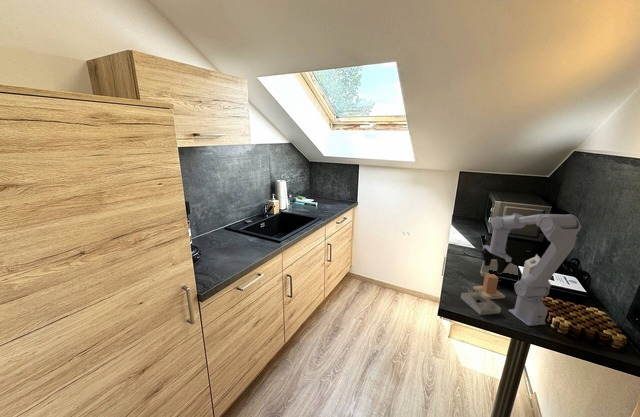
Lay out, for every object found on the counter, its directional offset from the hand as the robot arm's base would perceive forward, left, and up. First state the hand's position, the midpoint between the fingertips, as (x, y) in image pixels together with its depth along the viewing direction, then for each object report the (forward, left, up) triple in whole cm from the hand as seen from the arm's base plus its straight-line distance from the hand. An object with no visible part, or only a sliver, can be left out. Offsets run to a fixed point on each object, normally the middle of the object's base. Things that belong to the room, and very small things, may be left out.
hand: (493, 269), depth 123 cm
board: (-3, +3, -10) cm, 11 cm away
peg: (-3, +3, -9) cm, 10 cm away
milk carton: (-7, -15, -11) cm, 20 cm away
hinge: (+10, -14, -11) cm, 20 cm away
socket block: (-11, +14, -10) cm, 21 cm away
